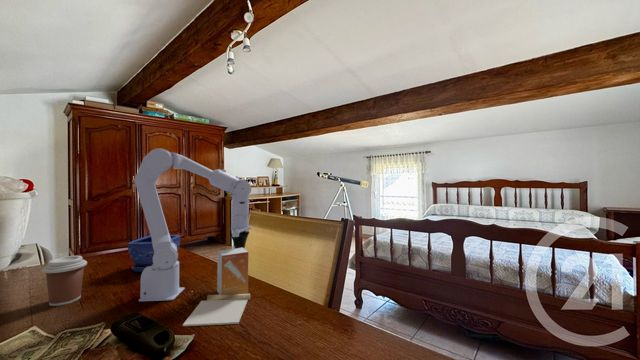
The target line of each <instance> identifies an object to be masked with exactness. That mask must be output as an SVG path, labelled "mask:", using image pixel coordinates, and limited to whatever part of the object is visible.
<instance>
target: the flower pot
mask: <svg viewBox="0 0 640 360" xmlns="http://www.w3.org/2000/svg"><path fill="white" fill-rule="evenodd" d="M170 237H171V240H172V241H173V242H174V243H175V244H176V246H177V252H178V250H179V248H180V243H181V235H179V234H178V235H175V234H170ZM127 249H128V254H129V257H130V259H131V261H132V262H133V263H134V265H133V266H131V267H130V269H131V270H132V271H134V272H137V273H142V272H143V270H144V269H145V268H146V267H148V266H152V264H154V263H153V255H154V249H153V245H152V238H151V235H150V234H149V235H146V236H144V237H140V238H138V239H134V240H132V241H130V242H128V243H127Z"/></svg>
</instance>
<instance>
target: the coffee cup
mask: <svg viewBox="0 0 640 360" xmlns="http://www.w3.org/2000/svg"><path fill="white" fill-rule="evenodd" d="M87 265H88V261H87V260H85V259H83V256H81V255H68V256H61V257H57V258H54V259H50V260H49V261H48V262H47V265H46V266H44V267H43V268H42V270H41V272H42V274H43V273H44V274H45V279H46V288H47V296H48V305H49V306H52V307H60V306H63V305H68V304H72V303H74V302H76V301H78V300H80V299H81V297H82V287H83V279H84V270H85V267H86V266H87Z"/></svg>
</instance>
